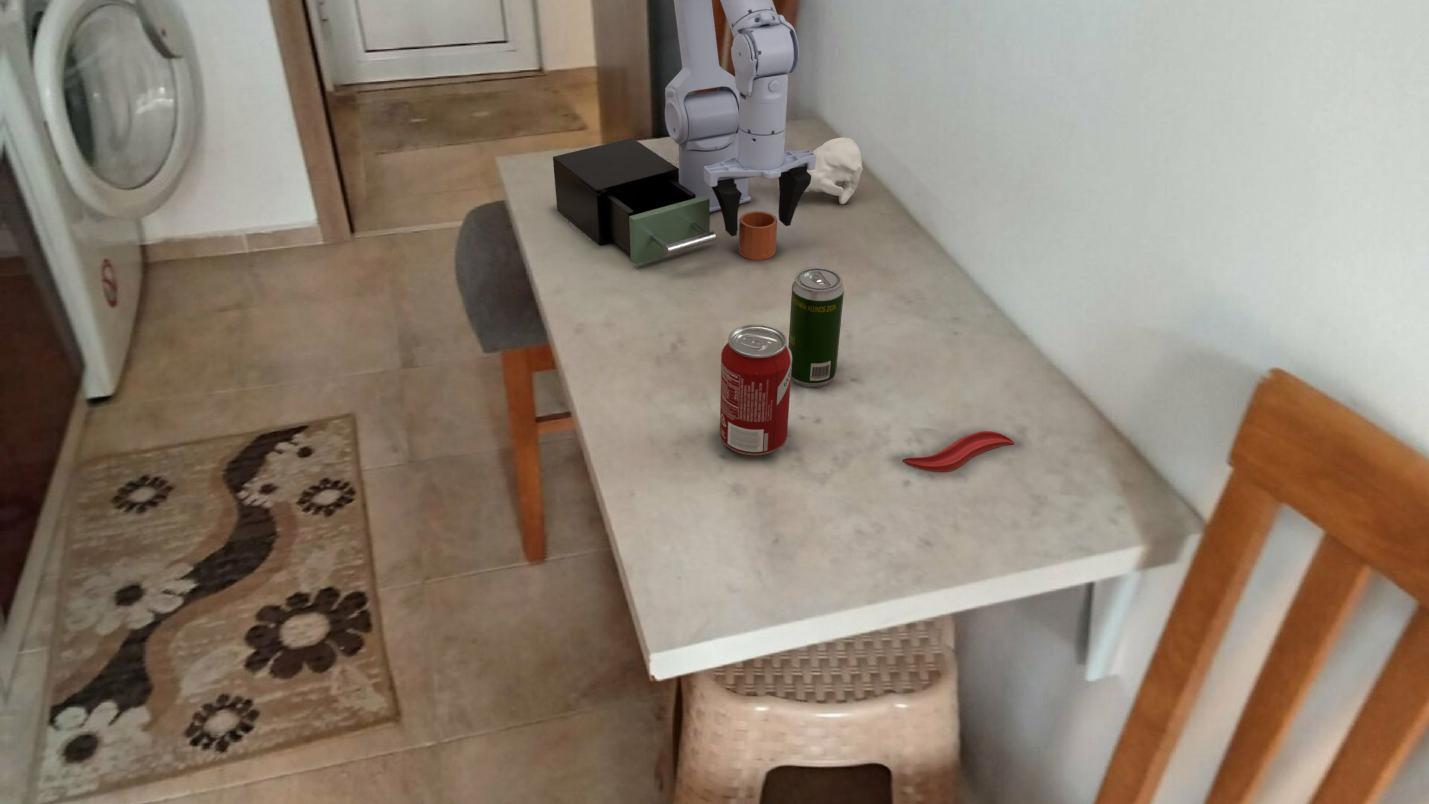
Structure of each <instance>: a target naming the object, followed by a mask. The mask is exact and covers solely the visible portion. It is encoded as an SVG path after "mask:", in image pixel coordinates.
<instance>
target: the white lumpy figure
mask: <svg viewBox="0 0 1429 804" xmlns="http://www.w3.org/2000/svg"><path fill="white" fill-rule="evenodd" d="M812 152H813V153H814V154H815V155H816V163H815V169H813V170H807V172H808V173H809V174H810V175H811V183H810V185H809V186H808V187H807V188H806V190H805V191H804V193H807V192H814V193H823V192H824V193H825V194H828V195H831V196H835V197H836V196H837V197H838V203H839V204H840V205H845V204H846V203H847V202H848V201H849V199H850V198H851V197H852V196H853V195H854V194H855V191H856V189H857V187H858V184H859V182H860V178H861V175H862V172H863V171H864V168H863V158H862V152H861V149H860V147H859V145H858V144H857V143H856V142H855V141H854V139H852V138H850V137H836V138H833V139H829V140H827V141H825V142H824V143H823V144H821V145H820V146H818V147H817V148H815V149H814V150H813V151H812ZM777 190H778V191H779V178H778V180H777Z"/></svg>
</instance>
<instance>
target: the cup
mask: <svg viewBox="0 0 1429 804" xmlns="http://www.w3.org/2000/svg"><path fill="white" fill-rule="evenodd" d="M777 233H778V219H777V217H776V216H775V215H774V214H772V213H770V212H768V211H767V212H766V211H760V210H759V211H757V210H754V211H748V212H745V213H743V214H741V215H740V217H739V218H738V253H739V255H741V256H742V257H743V258H745V259H747V260H752V261H763V260H768V259H770V258H772V257H774V256H775V254H776V250H777V236H778V235H777Z"/></svg>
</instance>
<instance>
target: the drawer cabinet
mask: <svg viewBox="0 0 1429 804" xmlns="http://www.w3.org/2000/svg"><path fill="white" fill-rule="evenodd" d="M552 163H553V176H554V187H555V189H554V190H555V200H556V211H557V212H558V213H560V214H561V215H562V216H563V217H564V218H566V219H567V220H568V221H569V222H570V223H572V224H573V225H574V226H575V227H576V228H577V229H579V230H580V231H581V232H583V233H584V234H585V235H586V236H587V237H589V239H591V240H592V241H593V242H595V243H596V244H597V245H598V246H604V245H607V244H611V243H615V242H614V241H613V240H612V239H610V238H609V237H608V236H607V235H605V234H604V233H603V216H602V198H601V193H605V192H609V191H613V190H617V189H620V188H624V187H628V186H632V185H636V184H640V183H643V182H647V181H651V180H655V179H659V178H663V177H667V176H669V177H671V178H672V179H674V180H675V181H677V182H678V183H679V167H677V166H675V164H672V163H671V162H670V161H668V160H667V159H665V158H663V157H662V156H660V155H659V154H658V153H656V152H654V151H653V150H652V149H650V148H648V147H647V146H645V145H644V144H642V143H641V142H639V141H638V140H636V139H635V138H634V137H629V138H626V139H621V140H617V141H614V142H613V141H612V142H608V143H605V144H600V145H597V146H592V147H588V148H583V149H579V150H575V151H571V152H567V153H563V154H558V155H554V156H552Z"/></svg>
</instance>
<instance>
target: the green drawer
mask: <svg viewBox="0 0 1429 804" xmlns="http://www.w3.org/2000/svg"><path fill="white" fill-rule="evenodd" d="M601 198H602V216H603V233H604V234H605V235H607V236H608V237H609V238H610V239H612V240H613V241H614V242H613V243H615V244H616V245H618V246H619V247H620V248H621V249H623V250H624V251H625V252H626V253H628V254H629V255H630V262H631V263H632V264H634V265H635V266H637V265H640V264H644V263H647V262H650V261H654V260H657V259H661V258H663V257H666V256H667V257H668V256H671V255H675V254H679V253H681V252H685V251H688V250H693V249H696V248H698V247H701V246H705V245H709V244H712V243H715V242H716V241H717V235H716V233H715V232H714V231H713V230H710V223H711V222H710V219H711V218H710V217H711V216H710V213H711V212H710V199H709V198H708V197H706V196H702V197H698V198H696V194H695V193H693V192H692V191H690V190H689V189H687V188H686V187H684V186H683V185H681V184H680V183H678V182H677V181H675V180H674V179H672V178H671V177H669V176H667V177H663V178H659V179H655V180H651V181H647V182H643V183H640V184H636V185H632V186H628V187H624V188H620V189H617V190H613V191H609V192H605V193H601Z"/></svg>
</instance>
